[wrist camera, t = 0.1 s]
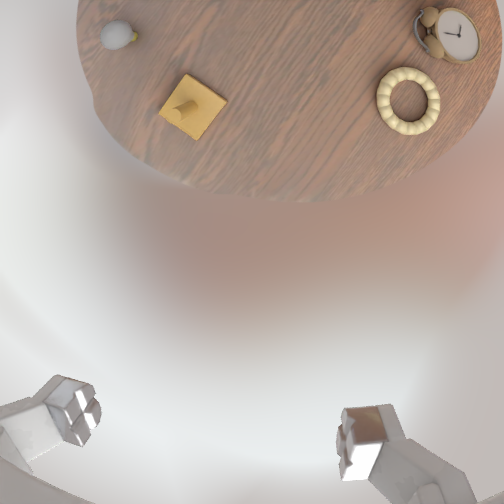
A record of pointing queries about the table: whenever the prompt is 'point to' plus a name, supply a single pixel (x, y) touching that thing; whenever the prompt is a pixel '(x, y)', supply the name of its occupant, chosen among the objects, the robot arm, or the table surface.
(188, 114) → the square base peg post
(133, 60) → the table surface
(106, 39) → the light bulb
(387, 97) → the segmented cream ring
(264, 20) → the table surface
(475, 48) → the alarm clock
